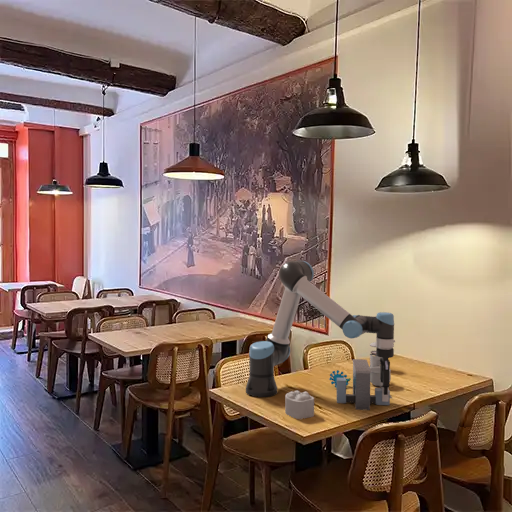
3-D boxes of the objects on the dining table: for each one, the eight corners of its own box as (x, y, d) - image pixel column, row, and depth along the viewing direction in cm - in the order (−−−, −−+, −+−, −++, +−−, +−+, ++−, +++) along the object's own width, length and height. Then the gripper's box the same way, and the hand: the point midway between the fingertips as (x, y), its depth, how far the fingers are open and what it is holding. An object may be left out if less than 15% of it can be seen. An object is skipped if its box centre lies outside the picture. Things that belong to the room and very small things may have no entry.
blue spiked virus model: (331, 386, 240) (328, 368, 247) (327, 392, 244) (325, 374, 251) (352, 388, 242) (349, 370, 249) (348, 394, 246) (345, 376, 253)
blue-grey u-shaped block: (336, 402, 221) (337, 380, 220) (336, 399, 226) (336, 377, 225) (392, 405, 218) (392, 382, 217) (390, 401, 223) (391, 379, 222)
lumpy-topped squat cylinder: (296, 420, 200) (297, 399, 200) (279, 410, 211) (279, 390, 211) (317, 415, 205) (317, 395, 205) (299, 406, 216) (299, 387, 216)
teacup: (386, 389, 241) (386, 373, 241) (365, 385, 247) (365, 370, 247) (395, 382, 253) (395, 367, 253) (374, 379, 259) (374, 364, 259)
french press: (364, 368, 279) (364, 325, 278) (376, 365, 287) (376, 322, 286) (379, 372, 272) (379, 327, 271) (390, 368, 280) (391, 324, 279)
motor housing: (355, 409, 212) (355, 370, 212) (352, 394, 232) (352, 359, 232) (370, 410, 211) (370, 371, 211) (366, 395, 232) (366, 359, 231)
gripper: (396, 352, 210) (396, 406, 211) (390, 343, 228) (390, 393, 229) (378, 351, 211) (378, 405, 212) (374, 343, 229) (373, 392, 230)
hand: (384, 399), depth 220 cm, fingers closed on blue-grey u-shaped block, 5 cm apart
